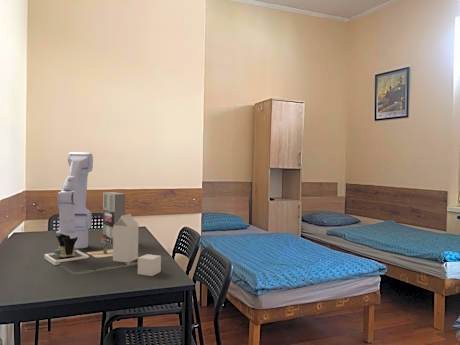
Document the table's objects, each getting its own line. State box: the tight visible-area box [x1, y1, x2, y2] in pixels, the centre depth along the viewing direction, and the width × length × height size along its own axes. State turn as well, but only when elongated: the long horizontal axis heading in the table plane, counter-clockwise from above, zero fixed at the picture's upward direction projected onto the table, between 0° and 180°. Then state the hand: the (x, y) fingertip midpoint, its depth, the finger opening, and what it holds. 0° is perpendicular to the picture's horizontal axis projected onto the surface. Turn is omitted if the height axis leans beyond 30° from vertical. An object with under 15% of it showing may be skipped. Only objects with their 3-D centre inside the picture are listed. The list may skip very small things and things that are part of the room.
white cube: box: [137, 253, 162, 277], centre depth 140 cm, size 6×6×6 cm
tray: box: [43, 249, 90, 266], centre depth 156 cm, size 13×13×2 cm
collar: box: [53, 245, 76, 258], centre depth 156 cm, size 7×5×3 cm
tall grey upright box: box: [100, 191, 126, 246], centre depth 186 cm, size 14×6×25 cm, turn 41°
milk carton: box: [112, 213, 140, 265], centre depth 154 cm, size 7×7×19 cm
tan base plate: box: [85, 242, 113, 259], centre depth 164 cm, size 12×12×6 cm
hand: (66, 253), depth 156 cm, fingers closed on collar, 5 cm apart
